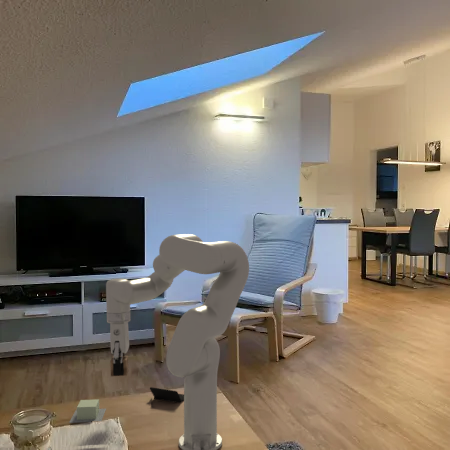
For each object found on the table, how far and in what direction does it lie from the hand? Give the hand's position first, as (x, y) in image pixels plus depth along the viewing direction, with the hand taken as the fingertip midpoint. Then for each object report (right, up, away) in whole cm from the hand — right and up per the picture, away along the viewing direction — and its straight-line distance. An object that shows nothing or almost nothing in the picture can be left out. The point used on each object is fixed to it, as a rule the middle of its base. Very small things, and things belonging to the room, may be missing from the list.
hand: (119, 371), depth 152 cm
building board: (-10, -15, +1) cm, 19 cm away
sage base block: (-10, -15, +1) cm, 18 cm away
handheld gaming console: (+14, -16, +16) cm, 26 cm away
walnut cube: (0, -1, 0) cm, 1 cm away
